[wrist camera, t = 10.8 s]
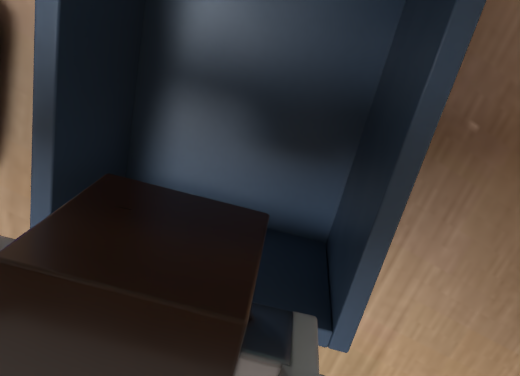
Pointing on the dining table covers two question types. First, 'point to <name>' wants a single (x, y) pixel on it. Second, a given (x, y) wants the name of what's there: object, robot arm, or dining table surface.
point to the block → (130, 285)
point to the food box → (255, 121)
